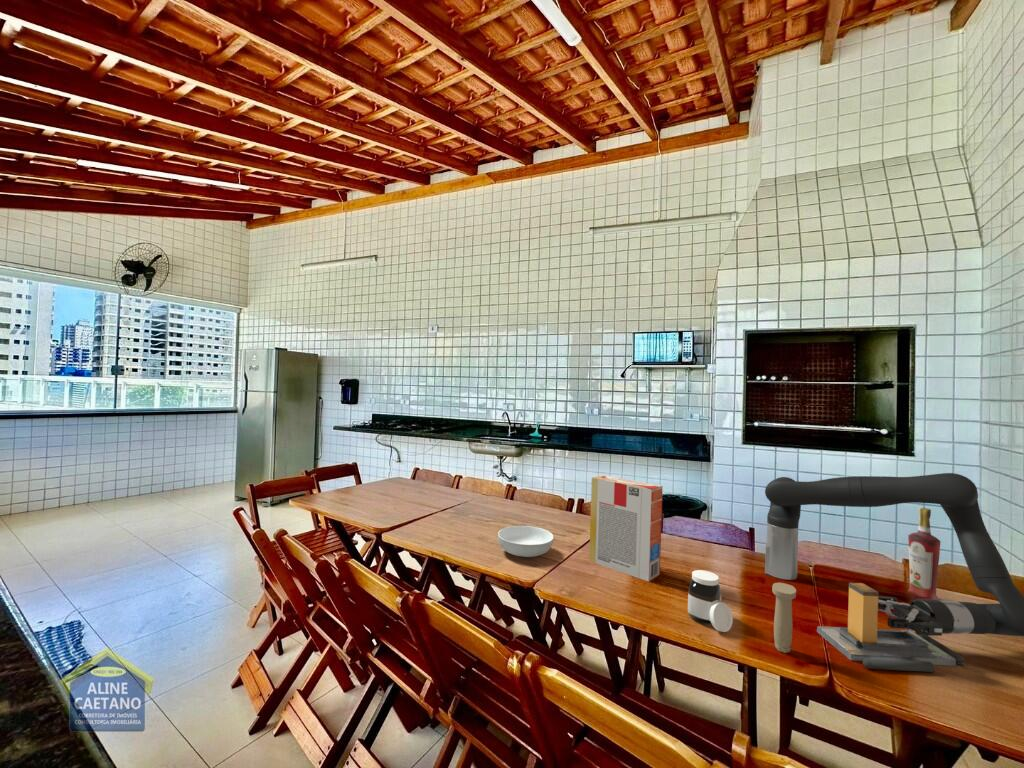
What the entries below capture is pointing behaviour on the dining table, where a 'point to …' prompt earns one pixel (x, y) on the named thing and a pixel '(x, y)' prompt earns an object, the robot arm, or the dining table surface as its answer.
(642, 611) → the dining table surface
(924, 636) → the dark grey rounded bar
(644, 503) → the cereal box
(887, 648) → the panel
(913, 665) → the grey rounded rod
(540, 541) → the serving bowl
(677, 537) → the dining table surface
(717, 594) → the spread jar
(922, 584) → the liquor
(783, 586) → the handle
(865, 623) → the tan wooden block
